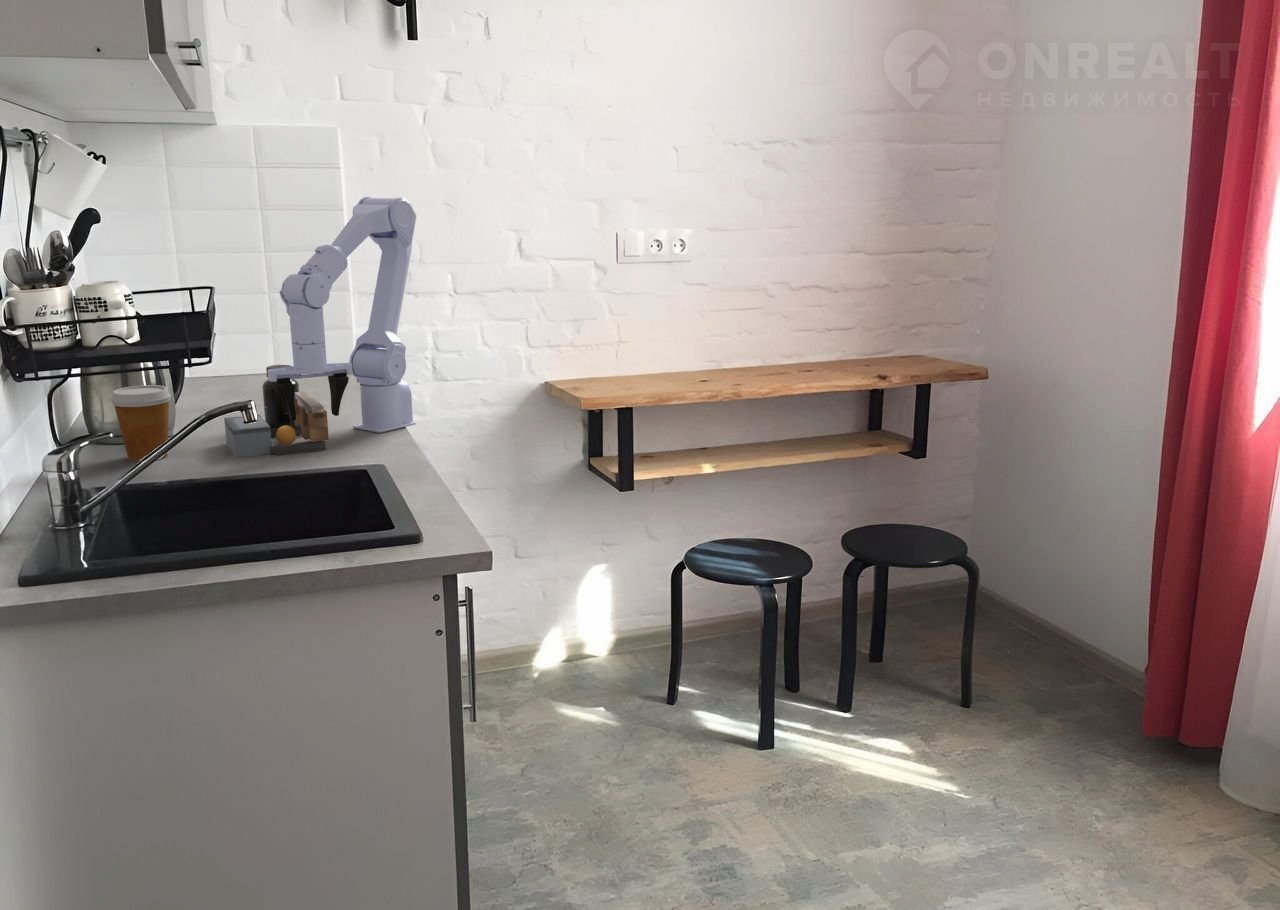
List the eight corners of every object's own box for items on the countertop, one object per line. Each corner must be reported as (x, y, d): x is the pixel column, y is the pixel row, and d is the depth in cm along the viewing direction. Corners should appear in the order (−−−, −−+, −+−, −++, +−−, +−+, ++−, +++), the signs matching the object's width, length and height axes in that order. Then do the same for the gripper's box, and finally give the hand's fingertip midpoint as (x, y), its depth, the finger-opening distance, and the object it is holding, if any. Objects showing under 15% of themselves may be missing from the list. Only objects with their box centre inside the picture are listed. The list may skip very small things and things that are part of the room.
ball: (289, 441, 199) (287, 422, 198) (300, 443, 197) (299, 425, 196) (272, 444, 196) (271, 426, 196) (284, 447, 194) (282, 428, 194)
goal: (261, 439, 200) (259, 414, 199) (272, 453, 190) (270, 426, 189) (226, 443, 197) (224, 418, 196) (235, 457, 187) (233, 430, 186)
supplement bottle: (258, 428, 209) (252, 367, 206) (284, 421, 215) (279, 362, 212) (283, 432, 206) (278, 370, 203) (309, 425, 212) (305, 365, 209)
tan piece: (311, 428, 206) (308, 391, 204) (329, 445, 192) (326, 406, 191) (295, 429, 205) (292, 392, 203) (312, 447, 191) (309, 407, 189)
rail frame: (309, 432, 206) (308, 425, 205) (326, 449, 193) (325, 441, 192) (257, 438, 201) (256, 430, 201) (271, 455, 188) (270, 447, 188)
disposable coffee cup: (113, 466, 182) (104, 396, 179) (123, 452, 191) (115, 386, 188) (173, 462, 184) (166, 393, 181) (181, 449, 193) (173, 383, 190)
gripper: (342, 336, 198) (347, 408, 201) (261, 342, 190) (267, 417, 194) (354, 341, 192) (358, 415, 195) (270, 347, 184) (277, 424, 188)
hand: (314, 417), depth 194 cm, fingers open, 7 cm apart
